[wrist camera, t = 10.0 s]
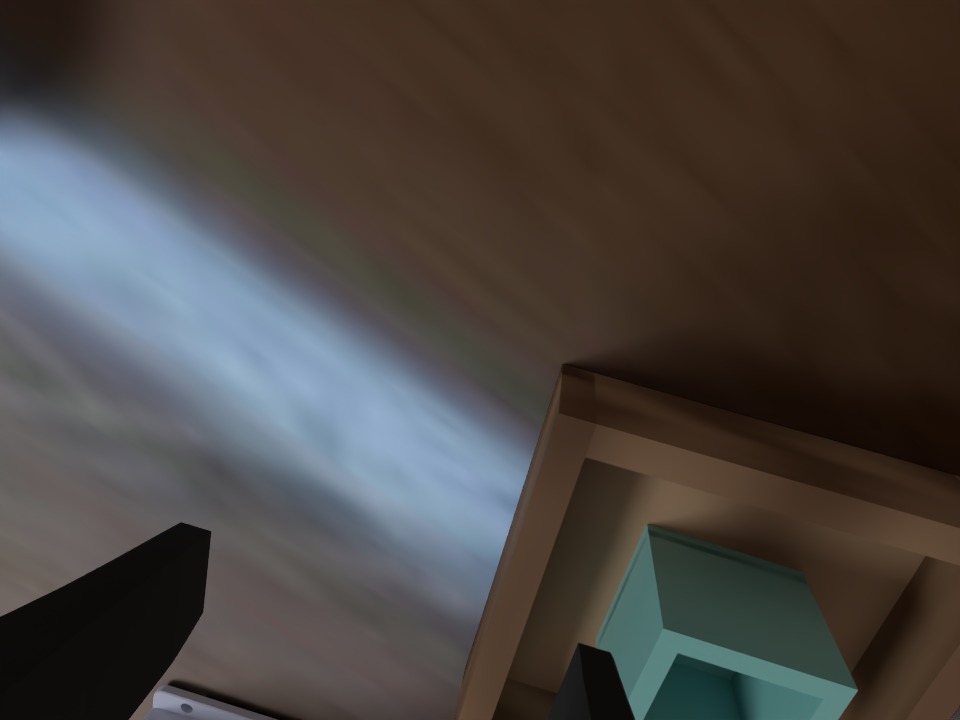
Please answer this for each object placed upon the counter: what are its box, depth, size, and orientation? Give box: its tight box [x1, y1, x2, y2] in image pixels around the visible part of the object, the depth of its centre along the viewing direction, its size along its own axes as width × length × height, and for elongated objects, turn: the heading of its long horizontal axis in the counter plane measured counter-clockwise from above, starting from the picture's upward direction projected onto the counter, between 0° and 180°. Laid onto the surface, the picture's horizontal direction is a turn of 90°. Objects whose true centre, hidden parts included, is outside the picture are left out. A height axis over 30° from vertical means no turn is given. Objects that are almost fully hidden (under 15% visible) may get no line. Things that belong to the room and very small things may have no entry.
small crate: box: [596, 524, 858, 720], centre depth 19 cm, size 5×5×4 cm
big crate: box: [455, 364, 960, 720], centre depth 20 cm, size 13×13×4 cm
